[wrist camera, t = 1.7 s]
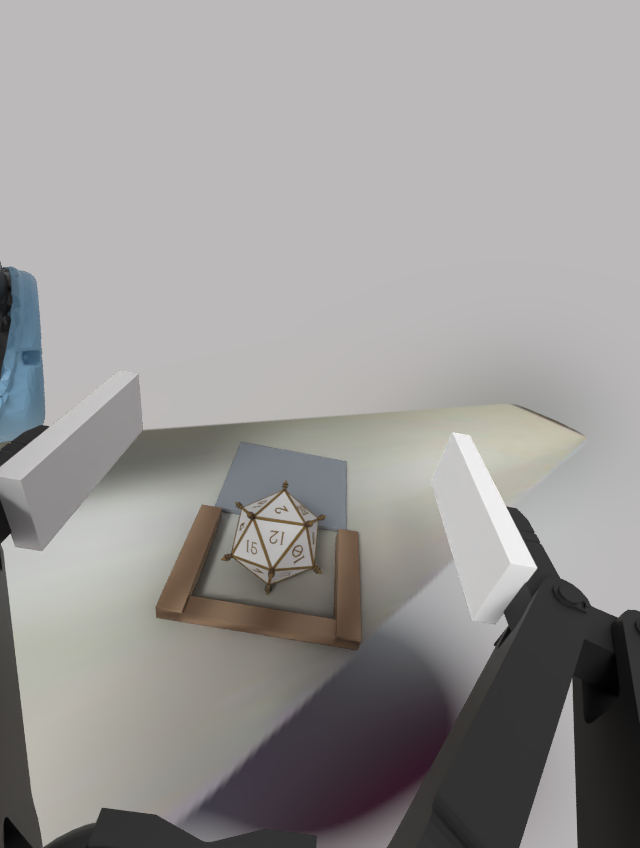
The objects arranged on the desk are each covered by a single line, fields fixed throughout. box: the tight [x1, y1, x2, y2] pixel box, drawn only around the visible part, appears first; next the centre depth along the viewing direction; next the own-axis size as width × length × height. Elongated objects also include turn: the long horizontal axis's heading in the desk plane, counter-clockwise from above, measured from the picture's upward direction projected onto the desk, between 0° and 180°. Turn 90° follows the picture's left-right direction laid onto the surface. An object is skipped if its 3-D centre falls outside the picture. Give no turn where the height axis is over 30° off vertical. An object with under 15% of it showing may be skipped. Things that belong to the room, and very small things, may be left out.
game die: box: [221, 480, 327, 595], centre depth 34 cm, size 9×8×10 cm
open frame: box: [156, 505, 362, 650], centre depth 35 cm, size 16×11×2 cm
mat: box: [215, 442, 346, 531], centre depth 45 cm, size 14×12×1 cm
